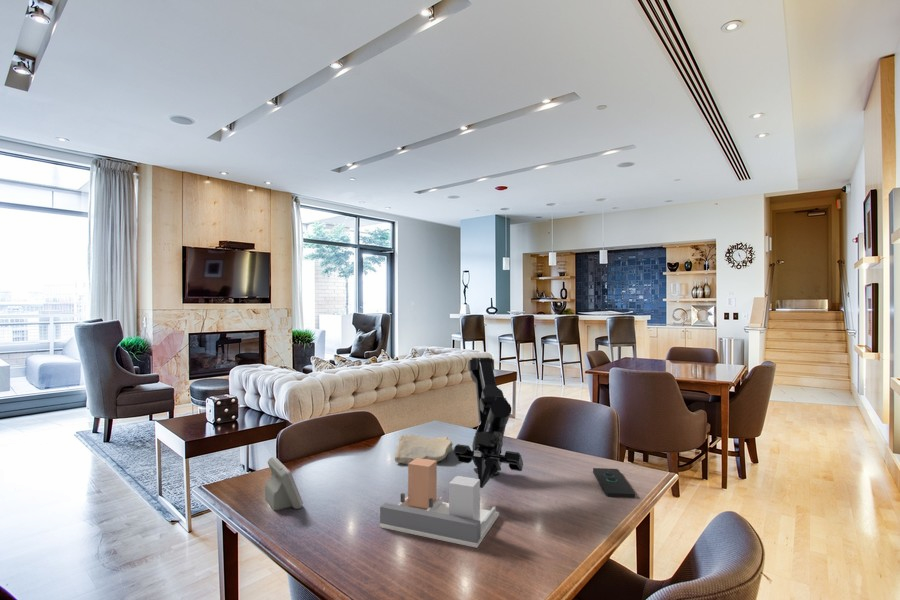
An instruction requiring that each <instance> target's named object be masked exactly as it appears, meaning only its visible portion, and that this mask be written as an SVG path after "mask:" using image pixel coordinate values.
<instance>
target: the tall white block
mask: <svg viewBox="0 0 900 600" xmlns="http://www.w3.org/2000/svg"><path fill="white" fill-rule="evenodd" d="M448 483H449V484H448V503H449V515H453V516H458V517H464V518H469V519H474V520H479V521H480V509H481V488H480V479H478V478H474V477H473V478H472V477H468V476H461V475H455V477H454V478H452V480H451V481H450V482H448Z"/></svg>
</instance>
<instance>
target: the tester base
mask: <svg viewBox="0 0 900 600" xmlns="http://www.w3.org/2000/svg"><path fill="white" fill-rule="evenodd" d="M496 508H497V506H494V505H493V506H492V508H491V509H490V510H489V509H483V508H480V521H479V520H474V519H469V518H464V517H458V516H453V515H449V502H444V501H443V497H442V496H439V498H437V500H436V501H435V502H434V503H433V499H432V498H430V499H429V508H428V509H425V508H420V507H415V506H409V505H408V496H407V497H406V493H400V502H398V504H394V503H388V502H384V503H383V504H382V505H380V506H379V527H380V528H383V529H387V530H391V531H396V532H399V533H400V532H401V533H405V534H411V535H415V536H420V537H425V538H429V539H434V540H438V541H444V542H446V543H447V542H448V543H452V544H458V545H462V546H466V547H470V548H471V547H473V548H478V547H479V545H480V544H481V542H482V541H483V540H484V538H485V537H486V536H487V534H488V532H489V531H490V529H491V528H492V526H493V525H494V523H495V521H496V520H497V519H498V518H499V513H500V512H499V511H497V509H496Z"/></svg>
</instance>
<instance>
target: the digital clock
mask: <svg viewBox="0 0 900 600" xmlns="http://www.w3.org/2000/svg"><path fill="white" fill-rule="evenodd" d="M267 464H268V465H267V466H268V467H269V469H270V470H269V471H270V472H271V473H270V474H271V477H270V478H269V480H268V481H266V483H265V485H264V499H265V501H266V502H267V503H268V505H269V506H270V507H271V509H272V510H273V511H279V510H283V509H286V508H290V507H291V508H294V509H295V510H298V509H299V510H300V509H301V508H302V507H303V504H304V502H303V499H302V496H301V495H300V492H299V488H298V486H297V484H296V481H295V479H294V477H293V474H292V472H291V471H290V469H289V468H288V467H286V466H285V465H284V464H283V463H282V462H281V461H280V460H279V459H278V458H277V457H275V456H273V457H270V458H269V459H268V461H267Z"/></svg>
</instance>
